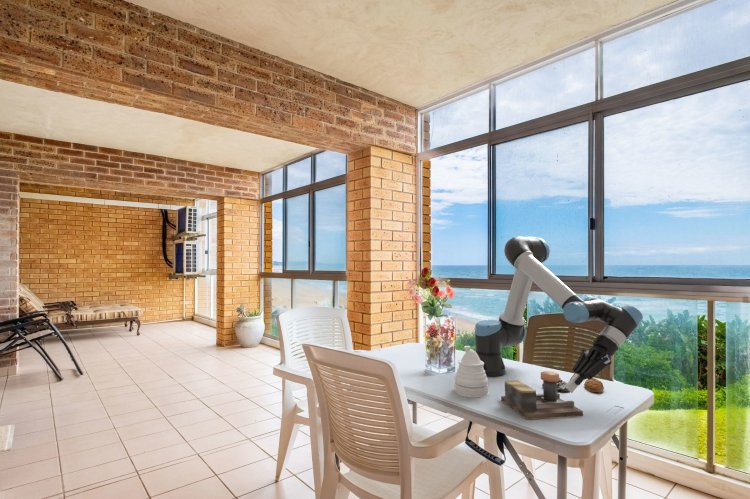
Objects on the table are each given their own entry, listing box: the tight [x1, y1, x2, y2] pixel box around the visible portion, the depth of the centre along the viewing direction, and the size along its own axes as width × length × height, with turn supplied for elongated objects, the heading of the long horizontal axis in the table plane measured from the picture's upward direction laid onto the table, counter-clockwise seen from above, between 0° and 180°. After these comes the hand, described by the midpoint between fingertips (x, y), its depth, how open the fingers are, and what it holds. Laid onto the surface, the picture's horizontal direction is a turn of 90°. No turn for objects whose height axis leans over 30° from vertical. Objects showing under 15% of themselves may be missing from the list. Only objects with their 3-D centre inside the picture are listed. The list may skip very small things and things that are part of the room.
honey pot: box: [454, 345, 489, 398], centre depth 156 cm, size 13×13×18 cm
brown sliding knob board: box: [500, 379, 584, 421], centre depth 139 cm, size 18×20×8 cm
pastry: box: [583, 377, 605, 393], centre depth 158 cm, size 9×7×4 cm
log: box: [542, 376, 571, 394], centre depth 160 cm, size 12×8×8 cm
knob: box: [540, 370, 560, 402], centre depth 140 cm, size 6×6×10 cm
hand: (568, 389), depth 141 cm, fingers closed
